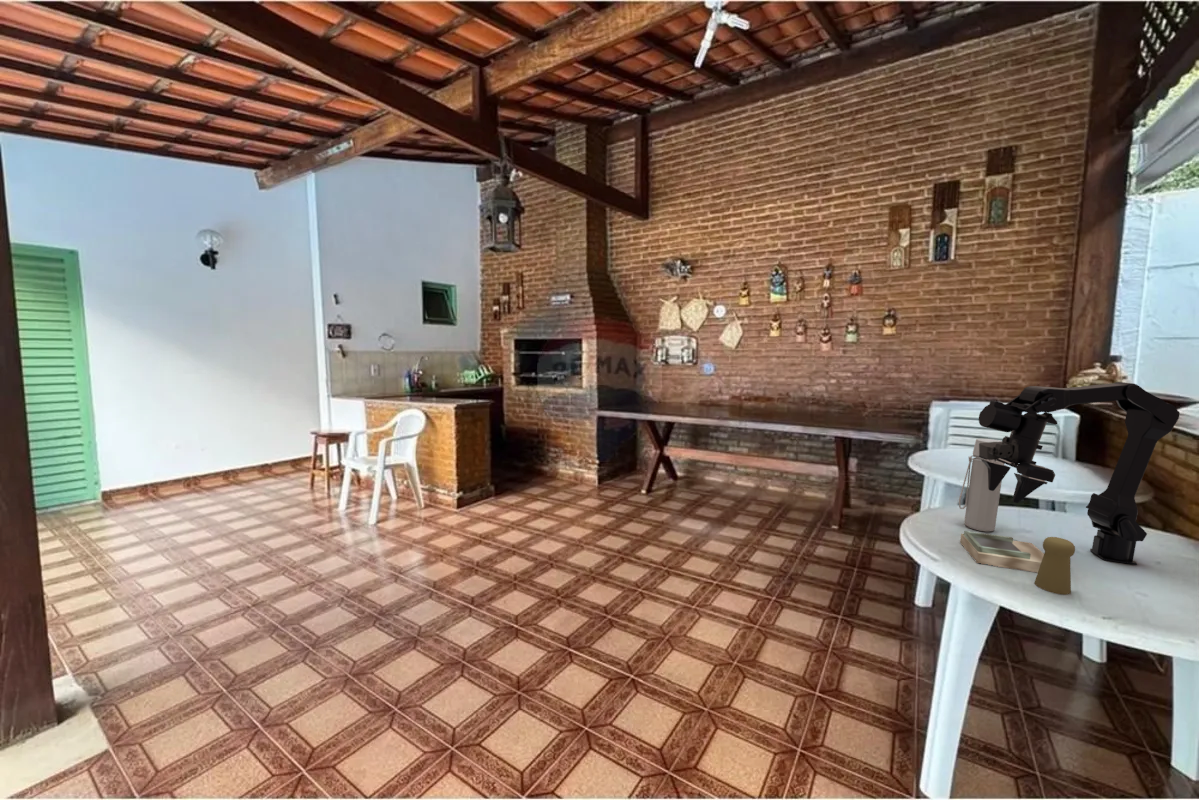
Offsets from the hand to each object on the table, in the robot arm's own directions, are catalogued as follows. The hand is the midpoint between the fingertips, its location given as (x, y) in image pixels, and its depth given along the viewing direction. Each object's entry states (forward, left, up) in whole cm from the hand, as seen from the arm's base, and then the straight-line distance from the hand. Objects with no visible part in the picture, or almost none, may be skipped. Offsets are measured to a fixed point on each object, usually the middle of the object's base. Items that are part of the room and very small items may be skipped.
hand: (1002, 496), depth 129 cm
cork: (-4, +19, -14) cm, 24 cm away
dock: (0, +5, -14) cm, 15 cm away
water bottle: (0, -16, -14) cm, 22 cm away
